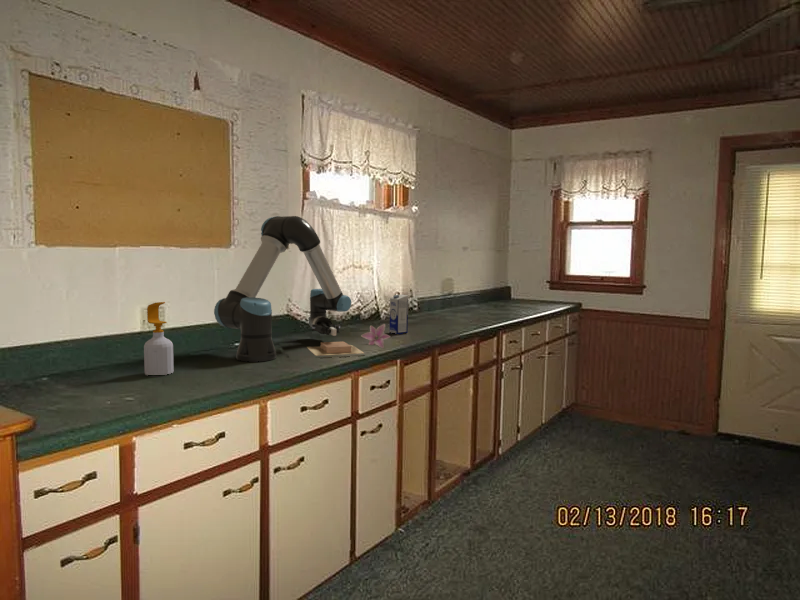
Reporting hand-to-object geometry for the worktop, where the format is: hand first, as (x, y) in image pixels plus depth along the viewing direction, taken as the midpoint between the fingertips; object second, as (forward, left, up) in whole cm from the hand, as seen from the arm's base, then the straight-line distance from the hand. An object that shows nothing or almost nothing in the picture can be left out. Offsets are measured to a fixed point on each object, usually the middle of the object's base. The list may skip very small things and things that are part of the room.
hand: (334, 332), depth 233 cm
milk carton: (+44, +43, -9) cm, 62 cm away
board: (0, -1, -9) cm, 9 cm away
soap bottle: (-66, -22, -9) cm, 70 cm away
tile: (0, +4, -6) cm, 7 cm away
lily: (+21, +9, -9) cm, 25 cm away
